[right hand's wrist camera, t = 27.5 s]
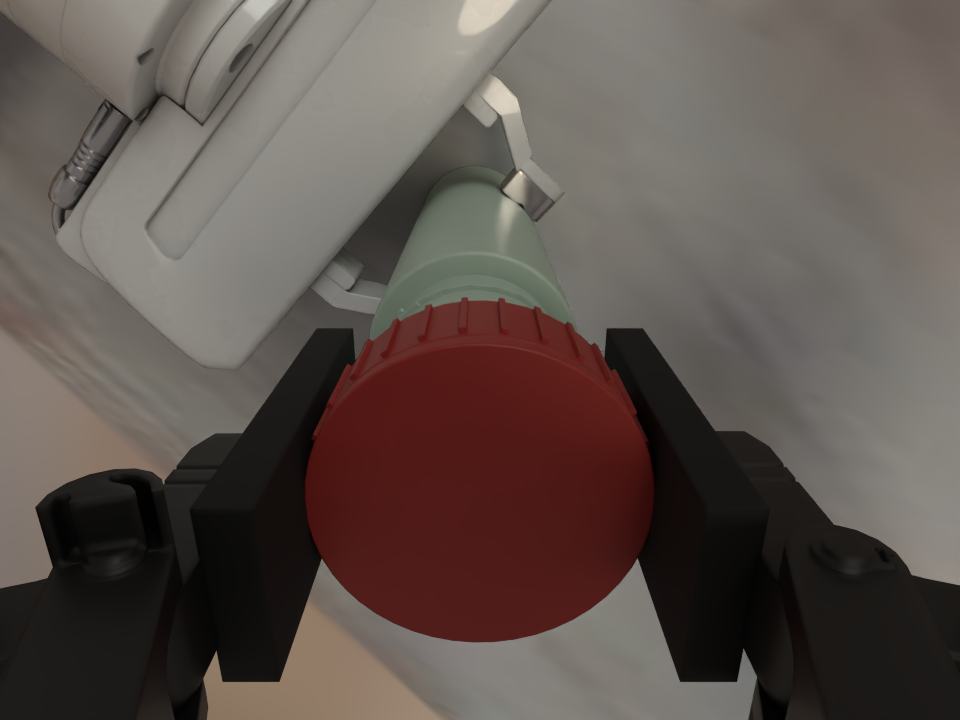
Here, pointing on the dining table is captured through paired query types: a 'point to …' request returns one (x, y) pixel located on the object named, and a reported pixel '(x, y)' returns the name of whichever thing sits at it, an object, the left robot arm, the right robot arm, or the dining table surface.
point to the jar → (471, 253)
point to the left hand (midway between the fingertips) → (492, 266)
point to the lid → (479, 474)
